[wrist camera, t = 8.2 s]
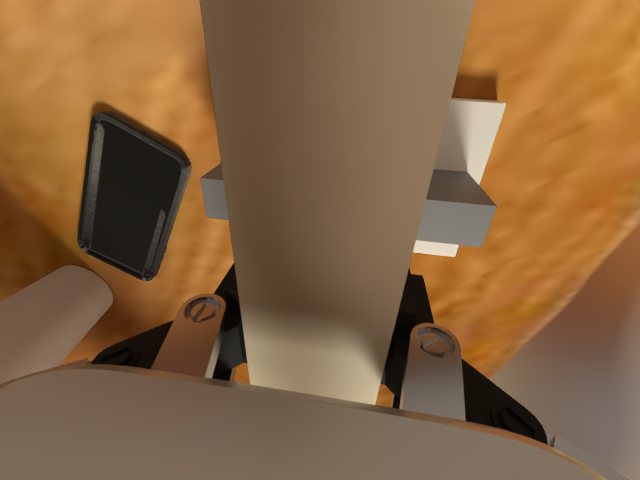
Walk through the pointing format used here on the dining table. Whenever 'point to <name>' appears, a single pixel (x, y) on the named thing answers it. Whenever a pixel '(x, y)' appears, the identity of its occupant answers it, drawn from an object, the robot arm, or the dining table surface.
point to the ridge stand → (434, 181)
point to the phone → (130, 195)
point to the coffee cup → (49, 320)
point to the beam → (327, 172)
